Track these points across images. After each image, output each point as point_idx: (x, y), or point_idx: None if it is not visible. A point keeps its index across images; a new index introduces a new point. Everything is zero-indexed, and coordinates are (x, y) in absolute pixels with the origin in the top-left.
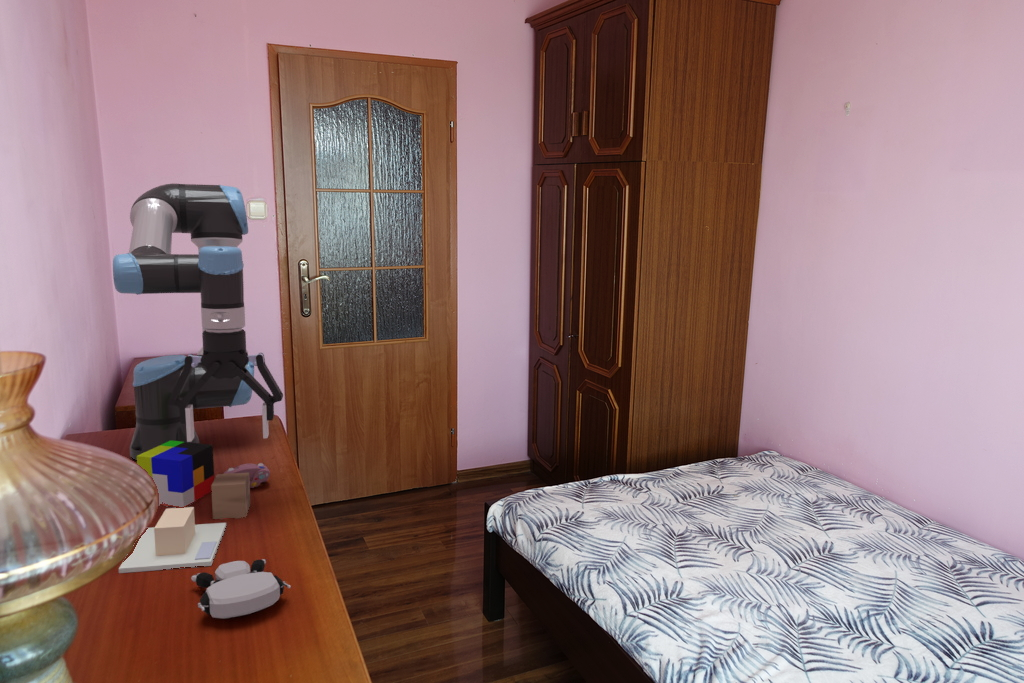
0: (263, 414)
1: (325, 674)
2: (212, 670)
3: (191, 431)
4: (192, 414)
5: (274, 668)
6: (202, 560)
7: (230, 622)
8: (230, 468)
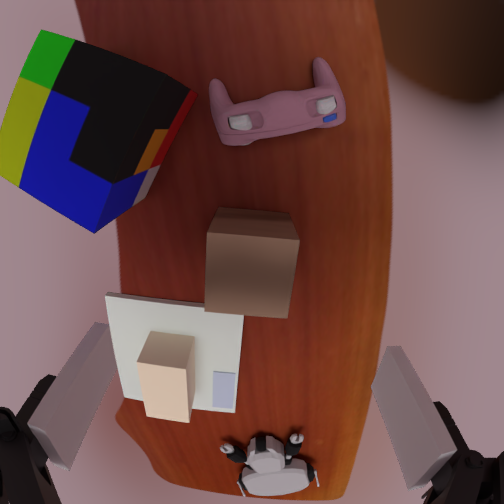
0: (402, 458)
1: (323, 500)
2: (255, 496)
3: (103, 385)
4: (69, 407)
5: (294, 498)
6: (223, 408)
7: None
8: (237, 118)
